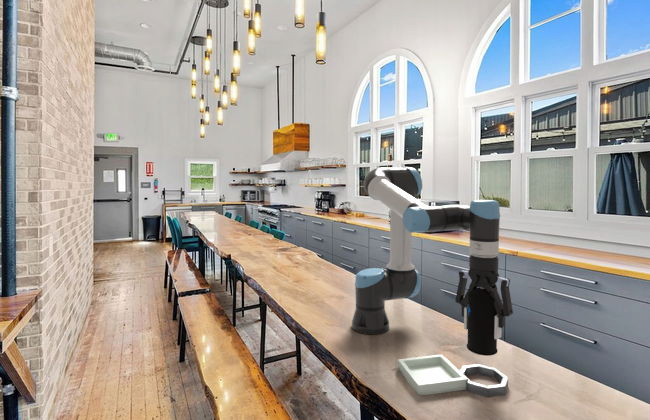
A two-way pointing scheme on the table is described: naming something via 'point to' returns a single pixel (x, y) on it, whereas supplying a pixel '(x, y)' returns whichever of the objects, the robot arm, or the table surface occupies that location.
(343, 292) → the table surface
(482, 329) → the aerosol can
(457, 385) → the tray
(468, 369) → the collar
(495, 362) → the table surface
